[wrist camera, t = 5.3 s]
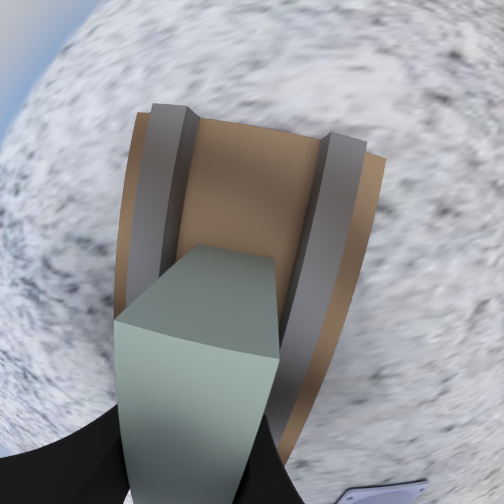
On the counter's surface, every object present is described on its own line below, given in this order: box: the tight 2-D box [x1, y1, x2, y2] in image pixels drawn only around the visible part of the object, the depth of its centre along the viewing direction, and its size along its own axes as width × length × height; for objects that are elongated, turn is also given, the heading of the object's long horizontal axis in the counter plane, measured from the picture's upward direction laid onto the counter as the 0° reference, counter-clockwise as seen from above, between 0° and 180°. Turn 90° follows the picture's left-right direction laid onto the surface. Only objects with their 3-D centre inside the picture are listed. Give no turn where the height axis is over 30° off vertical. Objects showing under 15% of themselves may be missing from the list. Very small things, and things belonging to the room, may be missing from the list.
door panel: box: [114, 244, 280, 504], centre depth 9 cm, size 10×3×7 cm, turn 169°
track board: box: [114, 103, 386, 466], centre depth 12 cm, size 20×10×3 cm, turn 169°
